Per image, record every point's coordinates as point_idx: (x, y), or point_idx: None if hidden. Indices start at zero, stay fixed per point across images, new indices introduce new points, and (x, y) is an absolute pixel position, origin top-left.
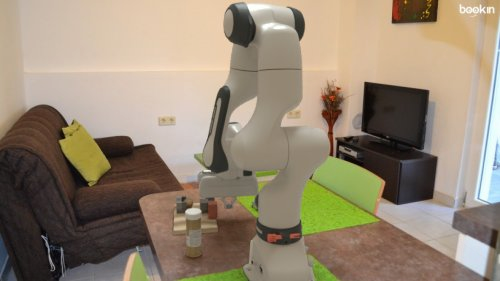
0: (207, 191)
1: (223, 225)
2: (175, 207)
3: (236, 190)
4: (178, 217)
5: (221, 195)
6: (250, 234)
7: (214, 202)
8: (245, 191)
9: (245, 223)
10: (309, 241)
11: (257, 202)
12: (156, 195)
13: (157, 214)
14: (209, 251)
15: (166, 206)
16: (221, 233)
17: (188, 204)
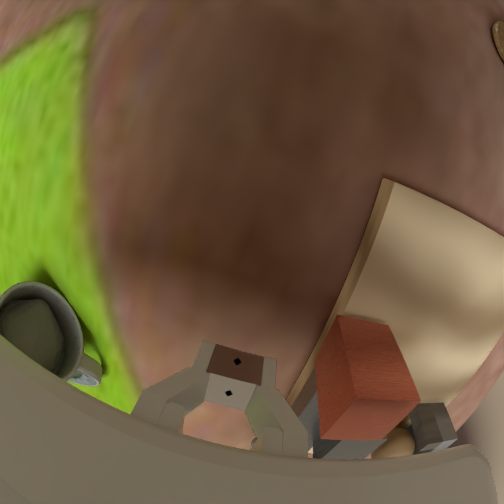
0: (458, 500)
1: (308, 255)
2: None
3: (94, 478)
4: (462, 375)
5: (325, 477)
6: (188, 66)
7: (353, 424)
8: (8, 399)
9: (162, 226)
10: (30, 8)
11: (71, 361)
12: None
13: (456, 412)
14: (464, 22)
15: None
16: (367, 150)
17: (405, 440)
